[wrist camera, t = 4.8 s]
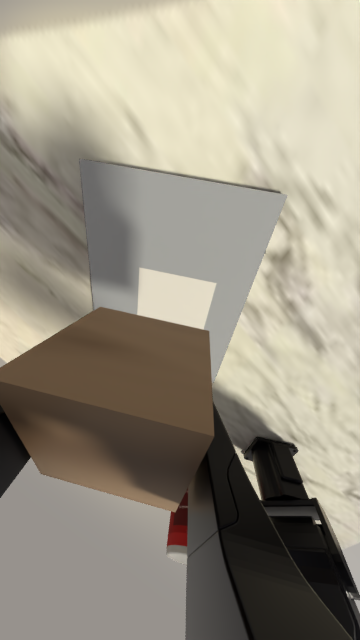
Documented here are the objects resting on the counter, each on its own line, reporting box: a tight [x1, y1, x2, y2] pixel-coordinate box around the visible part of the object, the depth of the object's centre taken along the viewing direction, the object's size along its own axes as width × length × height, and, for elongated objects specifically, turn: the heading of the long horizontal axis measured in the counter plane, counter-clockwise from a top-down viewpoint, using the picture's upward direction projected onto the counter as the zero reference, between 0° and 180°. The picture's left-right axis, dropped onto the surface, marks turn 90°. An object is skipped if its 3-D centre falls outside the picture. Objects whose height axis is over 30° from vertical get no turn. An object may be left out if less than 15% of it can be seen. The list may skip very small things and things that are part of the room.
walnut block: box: [0, 307, 214, 512], centre depth 7 cm, size 6×6×5 cm
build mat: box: [79, 159, 287, 383], centre depth 16 cm, size 20×16×1 cm
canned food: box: [166, 489, 188, 565], centre depth 28 cm, size 8×8×11 cm
